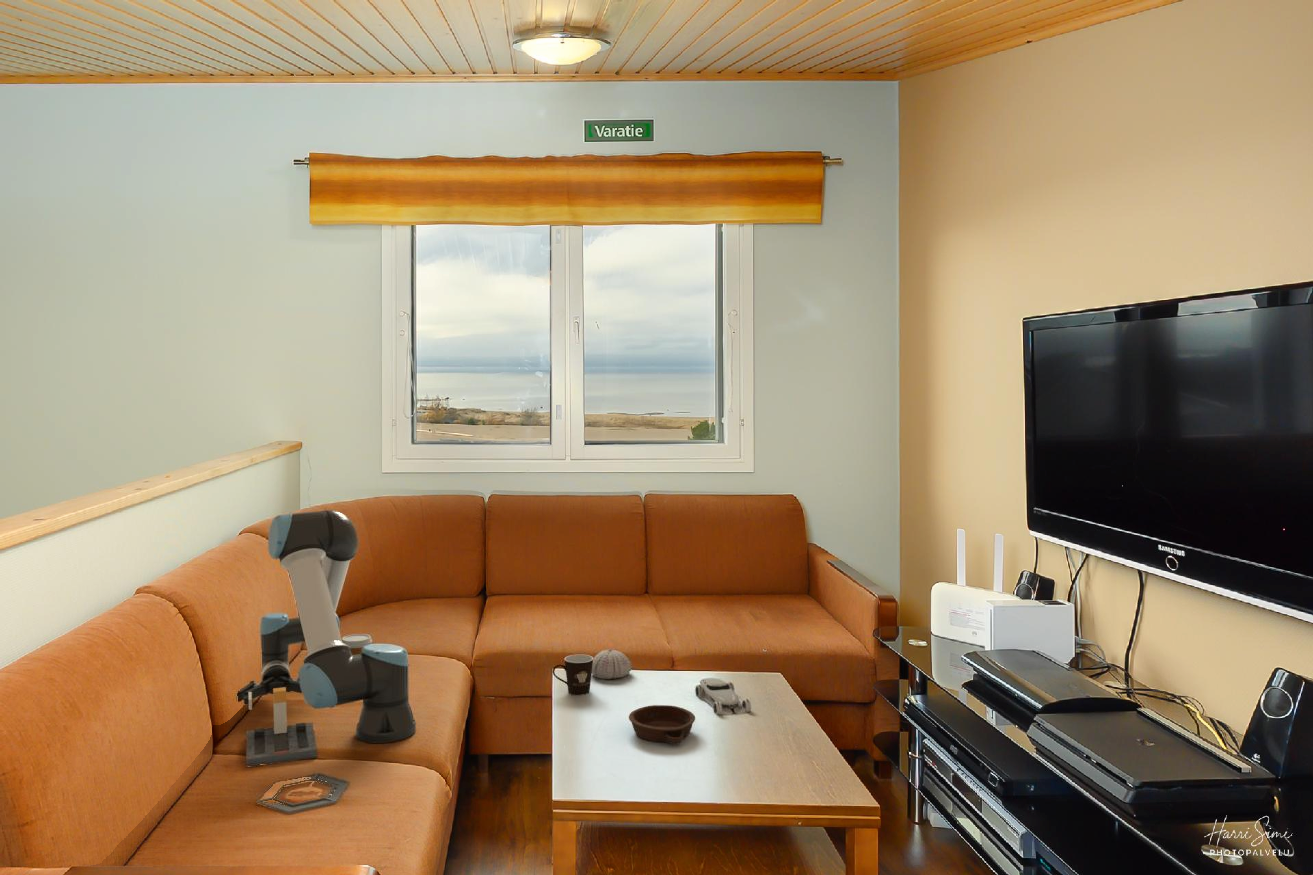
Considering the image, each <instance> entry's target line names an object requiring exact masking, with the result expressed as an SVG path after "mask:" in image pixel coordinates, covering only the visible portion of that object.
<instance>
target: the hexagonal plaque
mask: <svg viewBox="0 0 1313 875" xmlns="http://www.w3.org/2000/svg"><path fill="white" fill-rule="evenodd" d="M302 777H311V779H309V778H307V779H309V780H304V781H300V782H295V783H290V784H285V785H283V786H282V787H281V788H280V789H279V790H278V791H277V793H276V794H275V795H274V796H273V797H272V798H268V799H263V800H260V799H261V798H262V797H263V796H264V794H265V793H266V792H267V791H268V790H269V789H270V788H271V787H272V786H273V784H275V783H276V782H280V781H287V780H292V779H298V778H302ZM304 779H305V778H304ZM318 779H319V780H318ZM321 780H322V781H321ZM305 781H317V782H320V783H323V784H322V785H324V784H327V785H328V786H327V785H326V786H327V787H331V786H333V787H331V788H330V789H329V791H328V792H327V794H326V795H325V796H324V797H321V798H320V799H312V800H307V801H303V802H298V803H297V802H296V803H291V802H288V801H285V800H283V799H282V800H279V798H274V797H275V796H276V795H277V794H278V793H279V791H280V790H281V789H282V788H283V787H284V786H286V785H292V784H298V783H301V782H305ZM325 781H327V782H325ZM317 782H316V783H317ZM320 783H319V784H320ZM349 785H350V781H348V780H347V779H343V778H339V777H335V776H331V775H328V774H324V773H321V772H315V773H312V774H307V775H302V776H297V777H293V778H288V779H283V780H277V781H273V782H272V784H270V786H269V787H268V788H267V789H266V790H265V792H264V793H262V795H261V796H259V798H258V800H257V801H256V804H257V803H260V804H262V805H266V806H267V807H266V808H268V807H271V808H272V810H274V809H276V810H275V811H277V810H279V811H278V812H280V811H281V813H284V812H285V814H287V815H289V814H290V813H291V814H295V813H300V812H304V811H308V810H307V809H309V810H313V809H316V808H317V807H318V808H321V807H326V806H330V805H334V804H338V802H339V800H340V799H341V798H342V796H343V794H344V793H345V791H346V790H347V788H348V787H349ZM283 789H284V788H283ZM334 790H335V791H334ZM343 792H344V793H343ZM279 794H280V793H279ZM279 794H278V795H279ZM329 794H332V796H331V795H329ZM341 795H342V796H341ZM339 798H340V799H339ZM272 799H273V800H275V801H278V802H280V803H282V804H280V803H279V804H278V803H276V802H274V804H273V802H270V803H272V804H269V802H264V803H263V801H268V800H272ZM266 803H268V804H266ZM283 803H284V804H283ZM284 805H285V806H284ZM271 808H270V809H271ZM318 808H317V809H318ZM303 810H304V811H303ZM299 811H300V812H299ZM294 812H295V813H294Z"/></svg>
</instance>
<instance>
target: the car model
mask: <svg viewBox="0 0 1313 875" xmlns="http://www.w3.org/2000/svg"><path fill="white" fill-rule="evenodd" d="M694 689H695V690H694V693H695V696H696V697H697V698H698V699H700V700H702V701H705V702H706V703H707V704H708V705H709V706H710V707H712V710H713V713H714V714H715V715H716V716H733V714H736V715H744V714H746V713H749V712H751V710H752V703H751V700H750V699H748V698H744V699H742V702H741V700H740V699H739V697H738V695H737V694H736V692H735V685H734V683H733V682H729V681H728V682H726V681H724V680H723V679H721V678H715V677H706V678H702V679H700V680H699V684H697V685H696V686H695V688H694Z"/></svg>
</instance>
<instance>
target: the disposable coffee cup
mask: <svg viewBox="0 0 1313 875" xmlns="http://www.w3.org/2000/svg"><path fill="white" fill-rule="evenodd" d="M341 640H342V643H344V644H346V645H348V646H349V647H350V650H351V654H352V655H357V654H361V653H362V652H361V650H362V648H363V646H366V645H369V644H372V642H373V639H372V637H371V635H370V634H366V633H356V634H349V635H346V636H343V637H341Z"/></svg>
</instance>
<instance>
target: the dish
mask: <svg viewBox="0 0 1313 875" xmlns="http://www.w3.org/2000/svg"><path fill="white" fill-rule="evenodd" d="M628 720H629V721H630V722H631V726H632V728H633V730H634V733H635V734H636V735H637V736H638V737H639V738H641V739H644V740H646V741H651V742H662V743H665V742H666V743H669V744H671V745H679V744H681V743H682V742H683V739H685V738H686V737H687V736H688V735H689V734H690V732H691V730H692V728H693V724H694V723H695V722H696V716H695V714H694V713H693V712H692V711H690V710H688V709H686V708H684V707H680V706H676V705H666V704H665V705H663V704H662V705H661V704H660V705H659V704H652V705H646V706H643V707H640V708H637V709H635V710H633V711H631V712H630V713H629V714H628Z"/></svg>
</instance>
